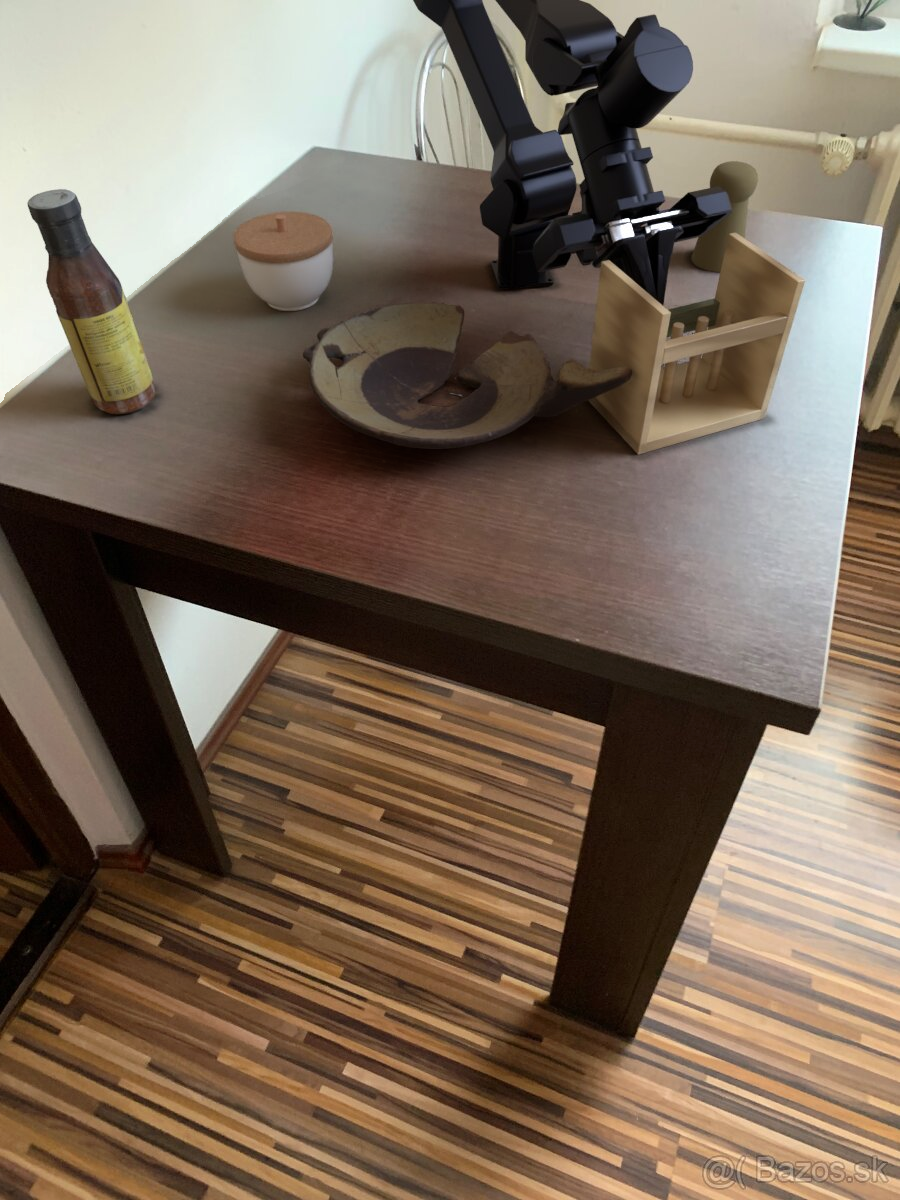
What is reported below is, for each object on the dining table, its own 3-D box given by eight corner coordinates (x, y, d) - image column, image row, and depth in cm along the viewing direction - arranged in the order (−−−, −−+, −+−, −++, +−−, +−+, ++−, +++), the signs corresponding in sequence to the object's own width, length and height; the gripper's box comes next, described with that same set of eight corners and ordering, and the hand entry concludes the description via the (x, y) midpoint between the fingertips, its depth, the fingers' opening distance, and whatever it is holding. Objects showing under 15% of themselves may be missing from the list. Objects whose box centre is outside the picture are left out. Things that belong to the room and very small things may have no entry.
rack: (585, 397, 87) (601, 261, 77) (705, 366, 91) (735, 231, 81) (638, 454, 81) (662, 314, 71) (765, 418, 84) (805, 279, 74)
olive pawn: (743, 274, 104) (766, 177, 96) (690, 269, 105) (709, 174, 97) (741, 250, 108) (764, 156, 100) (691, 247, 109) (709, 153, 101)
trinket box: (228, 311, 100) (210, 229, 93) (275, 269, 107) (262, 190, 100) (312, 328, 97) (300, 245, 90) (355, 284, 104) (347, 204, 97)
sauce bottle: (169, 388, 90) (111, 187, 75) (135, 423, 85) (67, 218, 71) (114, 377, 91) (47, 178, 77) (78, 411, 87) (0, 208, 73)
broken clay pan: (412, 321, 98) (408, 254, 92) (647, 420, 85) (660, 348, 79) (261, 413, 86) (247, 343, 81) (506, 544, 73) (509, 471, 67)
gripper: (654, 180, 93) (695, 323, 94) (494, 212, 89) (538, 362, 90) (712, 122, 83) (757, 285, 84) (533, 155, 78) (582, 327, 79)
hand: (656, 316), depth 84 cm, fingers closed, pressing on rack
